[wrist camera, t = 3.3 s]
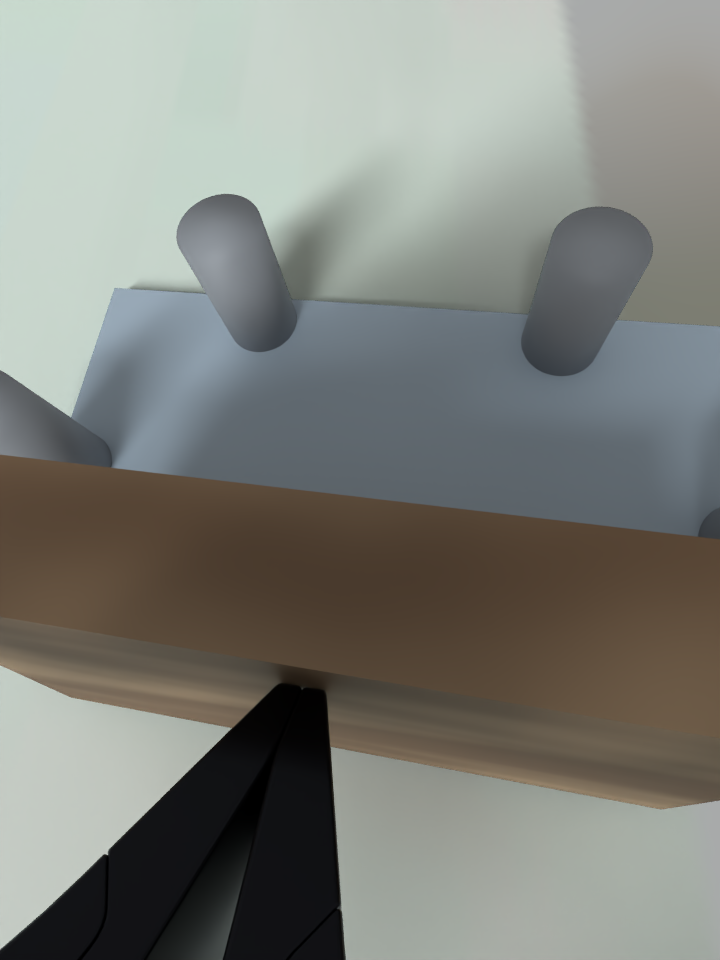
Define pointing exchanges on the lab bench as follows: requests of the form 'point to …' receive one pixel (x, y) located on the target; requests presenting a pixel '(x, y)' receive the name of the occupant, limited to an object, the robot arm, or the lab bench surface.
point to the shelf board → (374, 623)
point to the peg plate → (403, 388)
